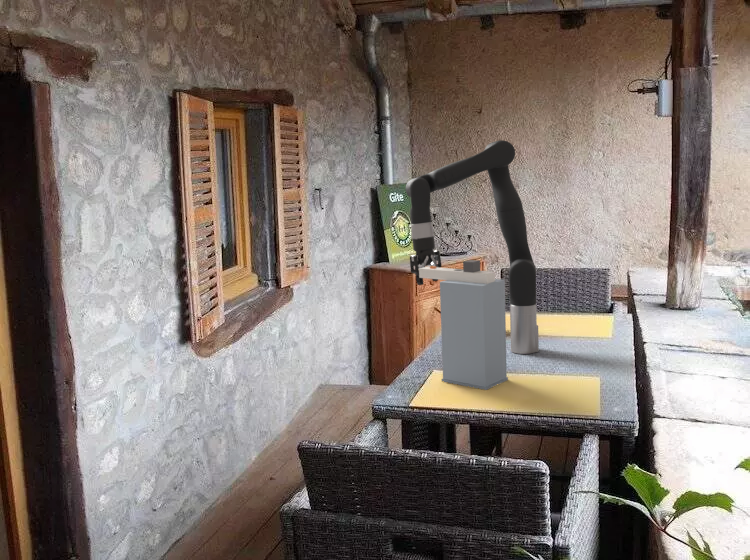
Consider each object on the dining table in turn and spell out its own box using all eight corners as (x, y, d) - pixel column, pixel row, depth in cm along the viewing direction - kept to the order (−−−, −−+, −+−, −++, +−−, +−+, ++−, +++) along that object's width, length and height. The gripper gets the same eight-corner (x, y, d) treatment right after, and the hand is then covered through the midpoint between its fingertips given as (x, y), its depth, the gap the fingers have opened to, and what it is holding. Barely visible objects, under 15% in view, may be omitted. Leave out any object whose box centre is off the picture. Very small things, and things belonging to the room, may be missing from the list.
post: (441, 381, 245) (438, 282, 239) (464, 371, 254) (461, 276, 249) (485, 390, 234) (483, 286, 228) (508, 379, 243) (506, 279, 238)
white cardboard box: (419, 277, 249) (418, 258, 248) (427, 275, 253) (427, 256, 252) (487, 283, 232) (486, 263, 231) (495, 281, 236) (494, 261, 235)
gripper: (426, 234, 272) (431, 279, 274) (401, 239, 262) (406, 286, 263) (443, 233, 267) (448, 279, 269) (418, 238, 257) (423, 286, 258)
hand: (428, 282), depth 266 cm, fingers open, 8 cm apart
